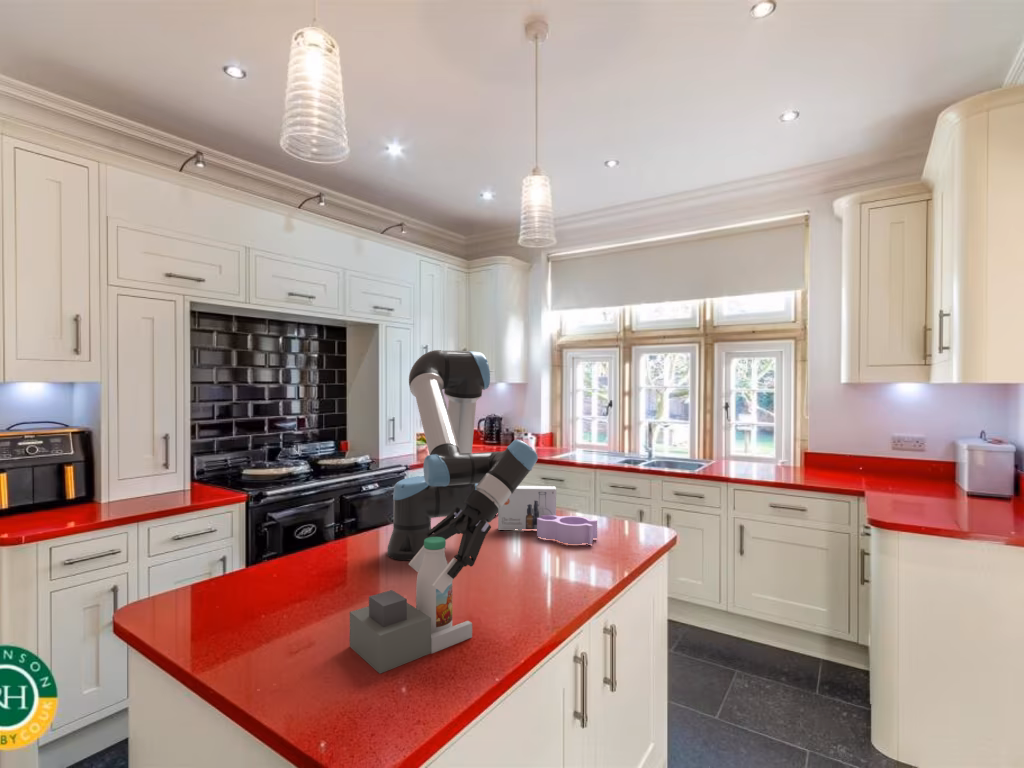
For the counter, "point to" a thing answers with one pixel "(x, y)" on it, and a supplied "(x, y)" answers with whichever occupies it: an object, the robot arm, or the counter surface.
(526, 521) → the skincare box
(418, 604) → the milk bottle
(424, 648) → the stacked grey blocks
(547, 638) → the counter surface
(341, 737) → the counter surface
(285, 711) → the counter surface
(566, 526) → the clip
